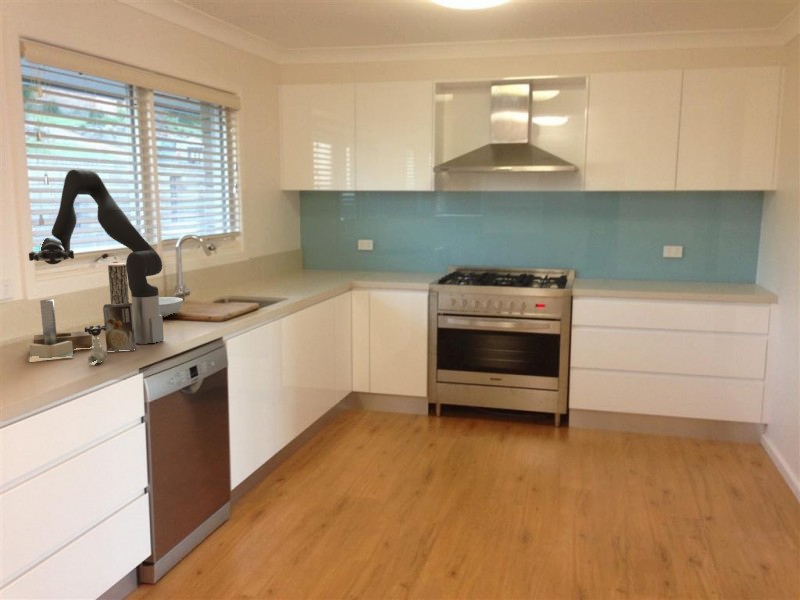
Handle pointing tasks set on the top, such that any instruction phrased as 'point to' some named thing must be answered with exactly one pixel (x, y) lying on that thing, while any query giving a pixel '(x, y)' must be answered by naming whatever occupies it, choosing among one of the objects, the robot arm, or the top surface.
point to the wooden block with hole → (69, 339)
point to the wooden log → (118, 283)
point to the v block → (52, 350)
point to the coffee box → (119, 327)
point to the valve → (96, 344)
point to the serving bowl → (169, 305)
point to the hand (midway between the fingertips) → (51, 257)
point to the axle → (48, 321)
